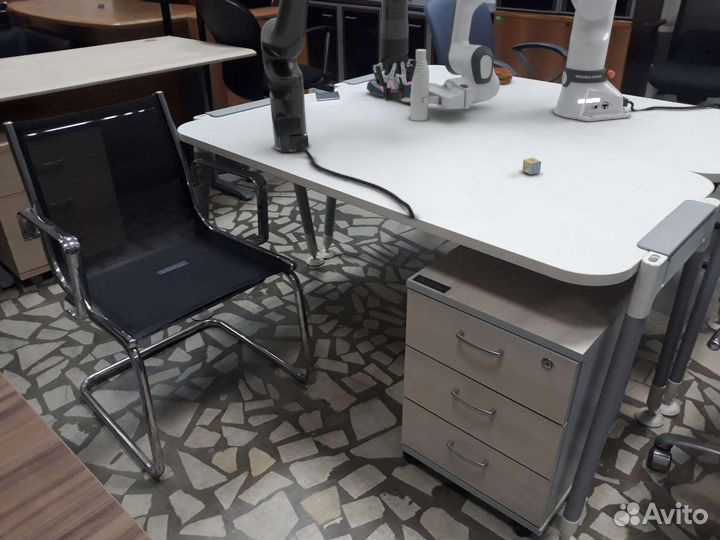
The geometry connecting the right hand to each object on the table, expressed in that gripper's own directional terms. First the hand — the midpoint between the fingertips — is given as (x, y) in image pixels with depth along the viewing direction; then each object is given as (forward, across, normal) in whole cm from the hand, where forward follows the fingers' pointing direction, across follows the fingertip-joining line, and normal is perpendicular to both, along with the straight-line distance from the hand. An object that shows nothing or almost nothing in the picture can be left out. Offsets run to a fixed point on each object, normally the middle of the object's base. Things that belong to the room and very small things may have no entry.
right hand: (417, 98), depth 178 cm
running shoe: (-7, -26, +6) cm, 28 cm away
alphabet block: (0, +54, +6) cm, 54 cm away
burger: (-53, -25, +6) cm, 59 cm away
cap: (+13, +9, -6) cm, 17 cm away
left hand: (+13, +9, -4) cm, 17 cm away
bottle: (-1, 0, +6) cm, 6 cm away
